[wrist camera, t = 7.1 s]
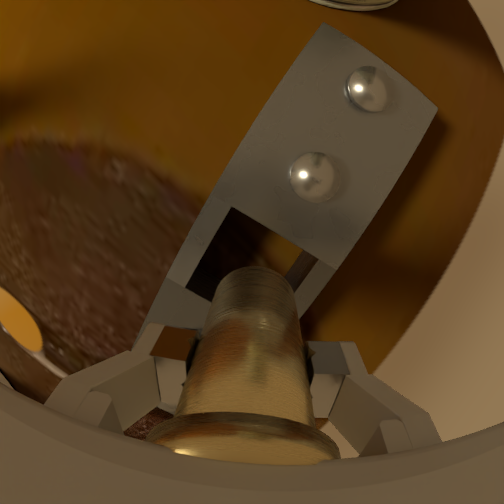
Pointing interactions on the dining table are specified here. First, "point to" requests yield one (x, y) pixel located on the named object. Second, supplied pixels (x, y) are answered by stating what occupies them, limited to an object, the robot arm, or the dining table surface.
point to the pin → (248, 381)
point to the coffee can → (356, 4)
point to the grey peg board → (306, 172)
